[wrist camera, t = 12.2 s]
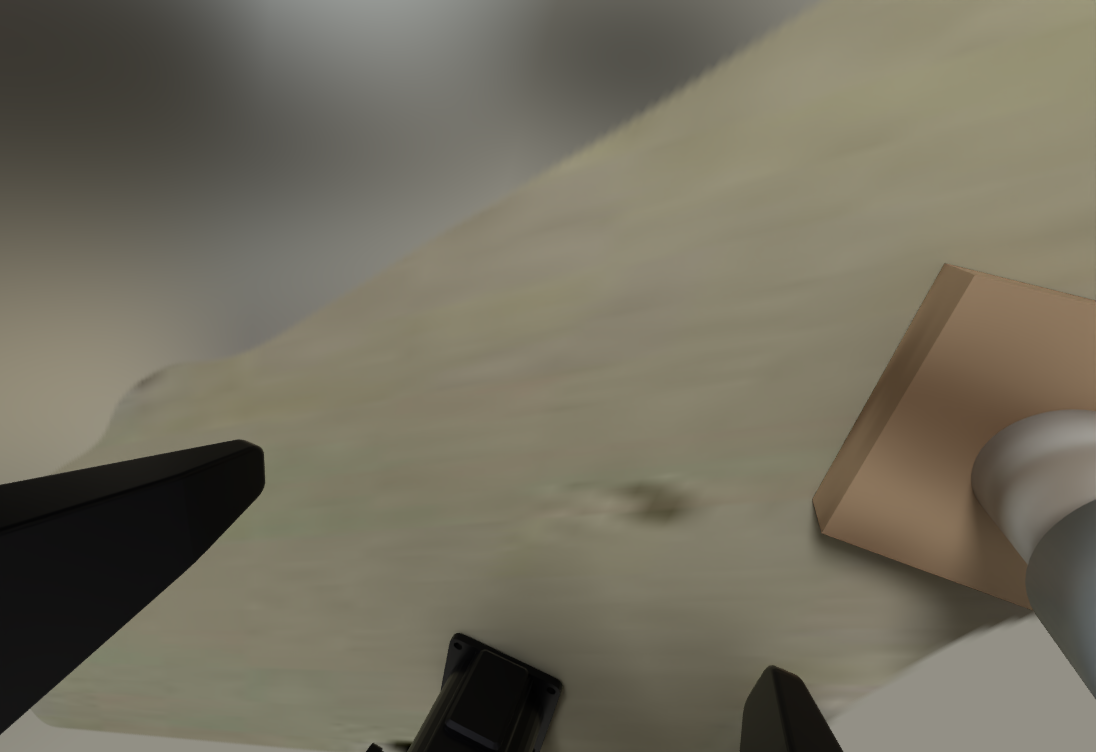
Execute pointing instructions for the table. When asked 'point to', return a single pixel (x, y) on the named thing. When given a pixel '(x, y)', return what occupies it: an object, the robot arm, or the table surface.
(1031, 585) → the smooth rounded gray lump
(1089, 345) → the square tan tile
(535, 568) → the table surface
